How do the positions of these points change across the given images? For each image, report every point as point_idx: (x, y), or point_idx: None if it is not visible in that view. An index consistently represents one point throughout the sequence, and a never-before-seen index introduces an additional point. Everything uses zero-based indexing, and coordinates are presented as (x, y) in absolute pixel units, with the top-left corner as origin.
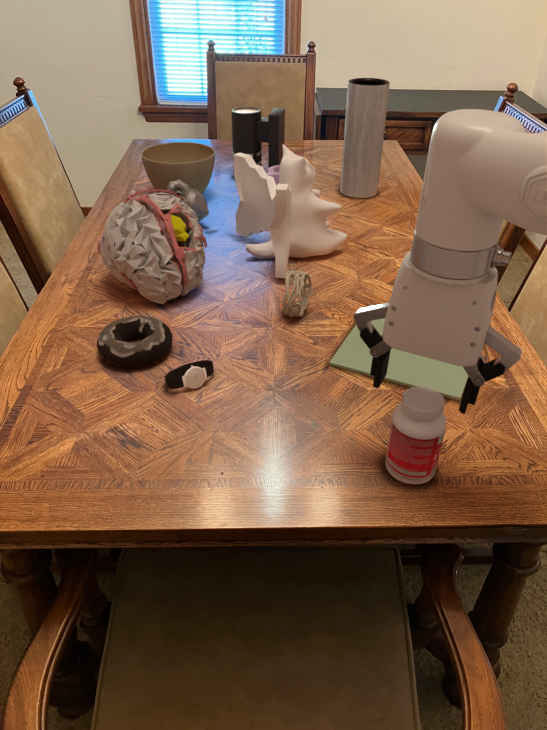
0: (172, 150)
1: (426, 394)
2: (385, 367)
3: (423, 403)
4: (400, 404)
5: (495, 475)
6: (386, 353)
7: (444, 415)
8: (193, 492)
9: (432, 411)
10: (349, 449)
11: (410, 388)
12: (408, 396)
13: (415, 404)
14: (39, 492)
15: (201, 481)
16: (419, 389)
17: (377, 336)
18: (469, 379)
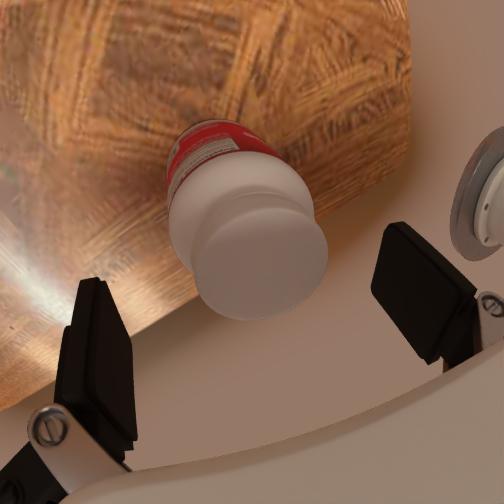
0: None
1: (268, 250)
2: (114, 355)
3: (271, 290)
4: (179, 228)
5: (355, 106)
6: (110, 419)
7: (308, 197)
8: (20, 357)
9: (301, 302)
10: (94, 187)
11: (207, 253)
12: (218, 290)
13: (251, 307)
14: None
15: (11, 345)
16: (238, 238)
17: (65, 493)
18: (439, 340)
